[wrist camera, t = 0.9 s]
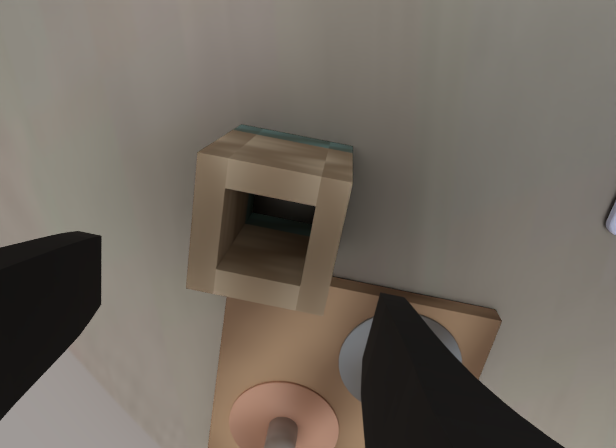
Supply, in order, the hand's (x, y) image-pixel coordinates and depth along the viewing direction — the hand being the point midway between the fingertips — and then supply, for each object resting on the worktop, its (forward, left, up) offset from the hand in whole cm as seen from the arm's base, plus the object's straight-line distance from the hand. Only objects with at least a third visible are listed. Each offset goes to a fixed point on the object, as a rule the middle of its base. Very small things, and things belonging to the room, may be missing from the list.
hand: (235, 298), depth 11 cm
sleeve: (0, 0, -10) cm, 10 cm away
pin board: (-4, +10, -10) cm, 15 cm away
